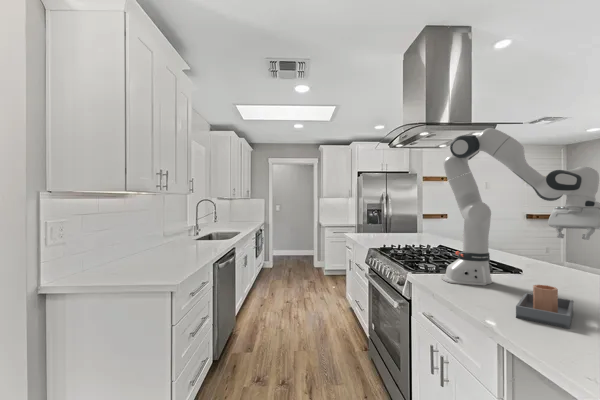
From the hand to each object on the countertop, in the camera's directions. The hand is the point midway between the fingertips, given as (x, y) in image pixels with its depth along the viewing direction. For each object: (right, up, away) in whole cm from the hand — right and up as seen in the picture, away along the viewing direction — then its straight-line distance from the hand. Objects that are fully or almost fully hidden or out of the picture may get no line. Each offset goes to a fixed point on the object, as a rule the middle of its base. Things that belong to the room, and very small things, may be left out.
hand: (572, 238), depth 129 cm
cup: (-24, -23, -17) cm, 37 cm away
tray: (-24, -24, -17) cm, 38 cm away
